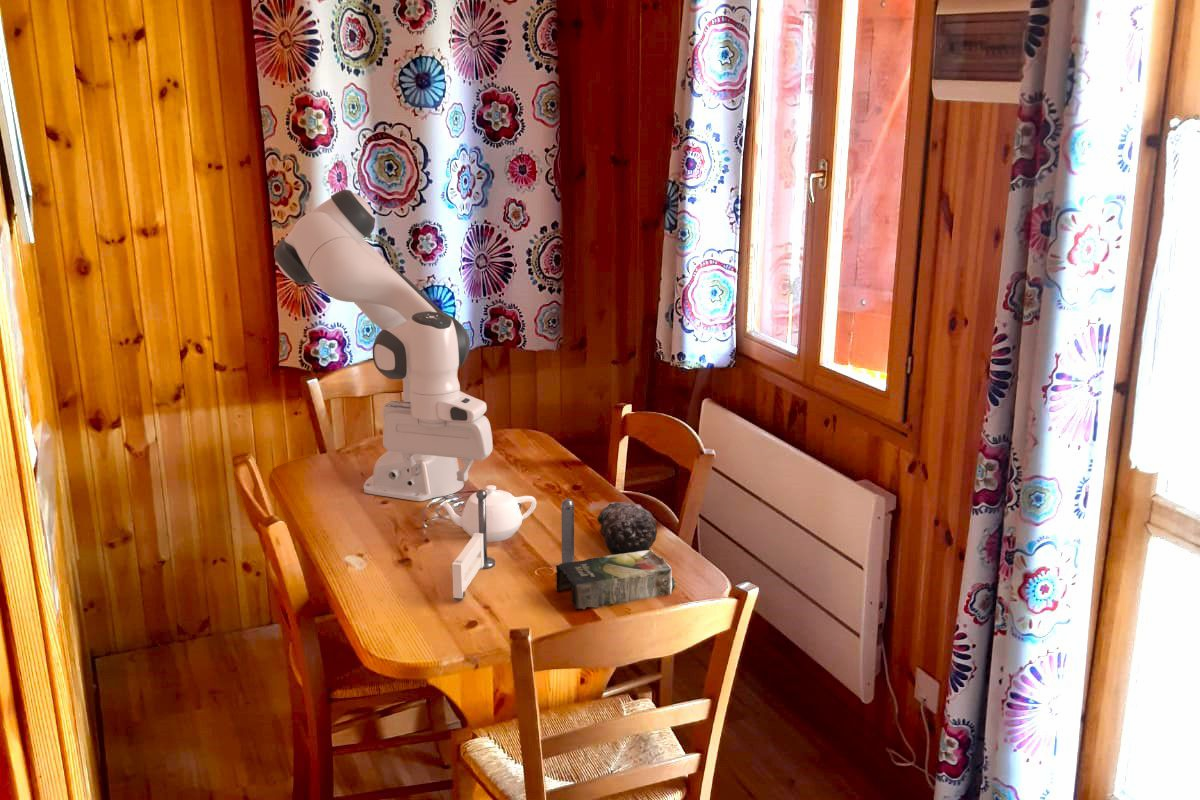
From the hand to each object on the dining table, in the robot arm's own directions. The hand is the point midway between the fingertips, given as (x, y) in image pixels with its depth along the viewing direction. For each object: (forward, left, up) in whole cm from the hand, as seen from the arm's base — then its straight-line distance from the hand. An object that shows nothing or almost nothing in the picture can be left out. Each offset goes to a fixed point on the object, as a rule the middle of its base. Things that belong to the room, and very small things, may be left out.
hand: (438, 477), depth 197 cm
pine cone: (+31, +20, -20) cm, 42 cm away
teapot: (+3, +22, -20) cm, 30 cm away
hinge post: (+6, +7, -20) cm, 22 cm away
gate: (+6, -2, -20) cm, 21 cm away
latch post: (+22, +10, -20) cm, 31 cm away
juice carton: (+33, 0, -21) cm, 39 cm away
